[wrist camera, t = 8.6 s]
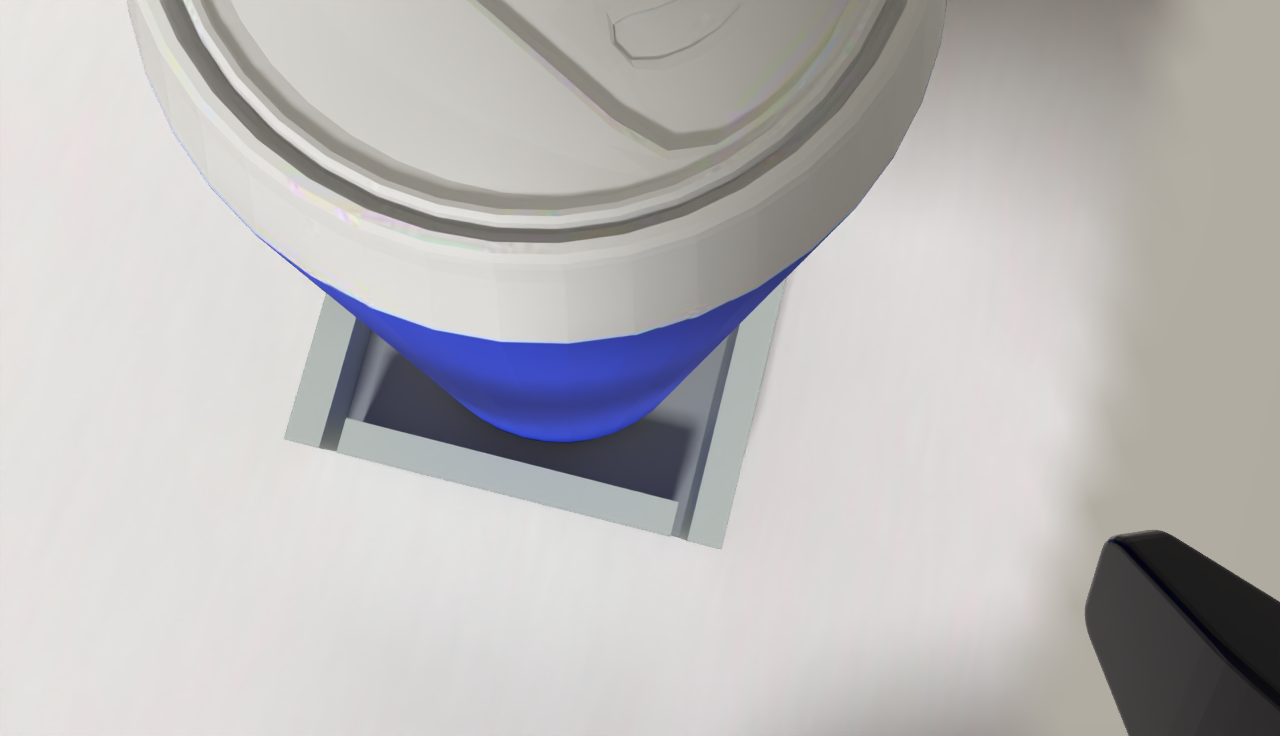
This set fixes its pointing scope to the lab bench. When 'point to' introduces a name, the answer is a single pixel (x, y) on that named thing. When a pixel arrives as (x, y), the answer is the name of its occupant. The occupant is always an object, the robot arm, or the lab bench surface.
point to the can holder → (534, 470)
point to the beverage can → (543, 170)
